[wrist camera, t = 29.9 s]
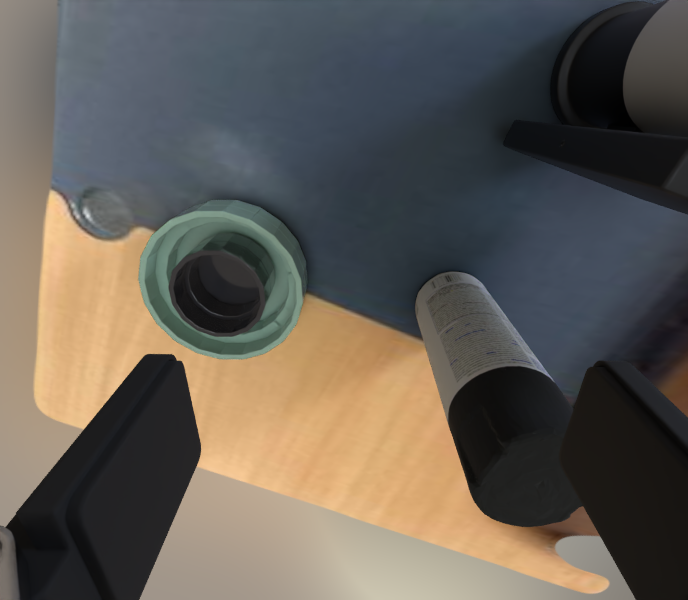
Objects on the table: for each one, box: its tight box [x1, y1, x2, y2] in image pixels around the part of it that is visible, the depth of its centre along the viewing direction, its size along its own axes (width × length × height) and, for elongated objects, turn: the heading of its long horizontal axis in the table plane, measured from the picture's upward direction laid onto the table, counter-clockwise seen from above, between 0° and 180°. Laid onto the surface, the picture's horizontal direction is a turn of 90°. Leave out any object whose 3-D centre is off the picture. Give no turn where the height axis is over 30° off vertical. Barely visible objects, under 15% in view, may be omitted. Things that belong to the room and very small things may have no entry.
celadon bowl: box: [138, 200, 308, 359], centre depth 34 cm, size 13×13×4 cm
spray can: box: [415, 272, 583, 527], centre depth 28 cm, size 7×7×20 cm
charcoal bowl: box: [168, 233, 275, 337], centre depth 33 cm, size 7×7×5 cm
